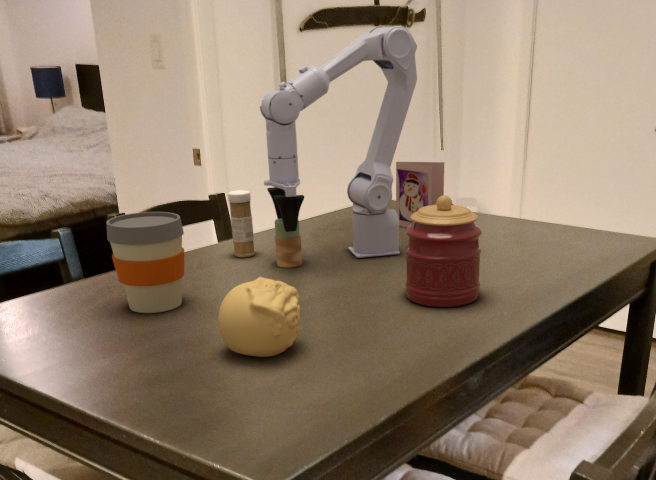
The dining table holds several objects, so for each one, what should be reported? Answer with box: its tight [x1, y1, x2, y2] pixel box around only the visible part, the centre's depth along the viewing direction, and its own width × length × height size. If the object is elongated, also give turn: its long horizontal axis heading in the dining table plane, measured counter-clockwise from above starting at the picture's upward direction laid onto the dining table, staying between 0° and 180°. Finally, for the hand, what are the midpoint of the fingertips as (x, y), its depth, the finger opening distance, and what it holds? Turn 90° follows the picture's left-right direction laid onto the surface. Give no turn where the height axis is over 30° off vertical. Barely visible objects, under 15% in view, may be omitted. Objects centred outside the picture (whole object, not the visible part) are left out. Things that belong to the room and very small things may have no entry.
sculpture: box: [217, 276, 301, 358], centre depth 111 cm, size 11×12×11 cm
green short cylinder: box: [274, 218, 300, 238], centre depth 153 cm, size 5×5×3 cm
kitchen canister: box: [405, 195, 483, 308], centre depth 131 cm, size 13×13×18 cm
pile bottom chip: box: [275, 249, 303, 269], centre depth 155 cm, size 5×5×3 cm
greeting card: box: [395, 161, 445, 229], centre depth 180 cm, size 11×7×15 cm, turn 43°
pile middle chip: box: [274, 233, 303, 253], centre depth 154 cm, size 5×5×3 cm
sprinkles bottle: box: [227, 189, 256, 258], centre depth 160 cm, size 5×5×14 cm
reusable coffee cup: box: [106, 211, 185, 314], centre depth 131 cm, size 13×13×15 cm
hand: (287, 226), depth 153 cm, fingers open, 7 cm apart
